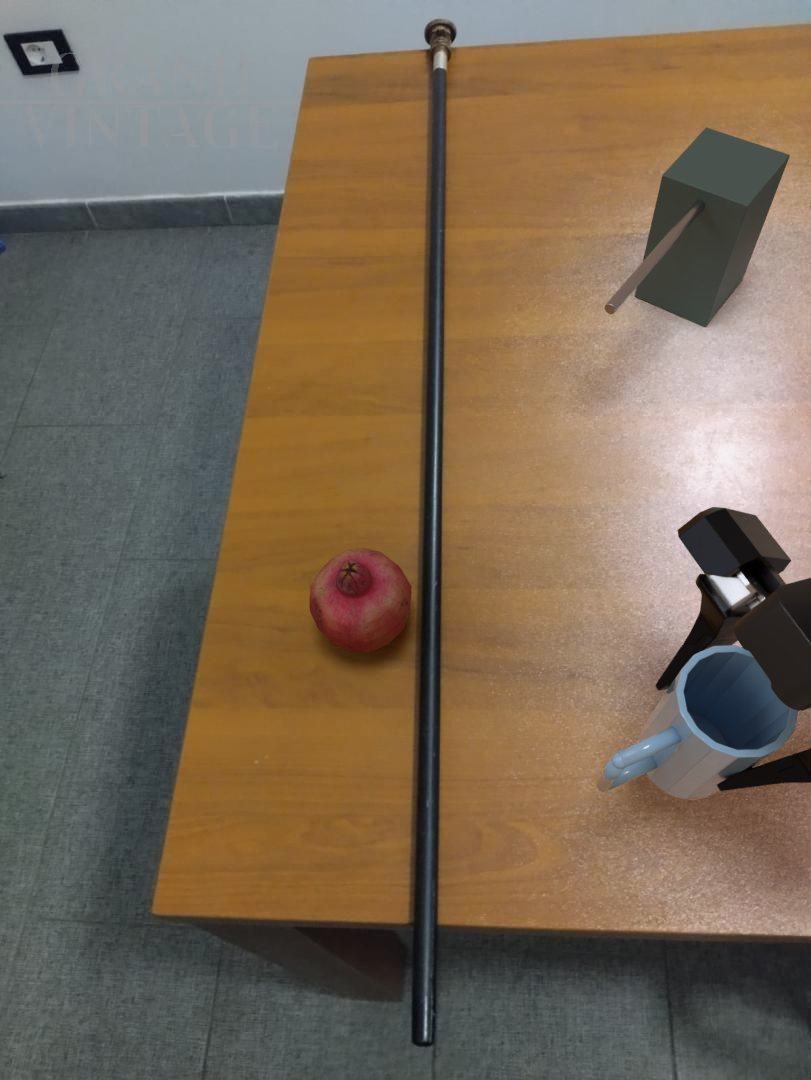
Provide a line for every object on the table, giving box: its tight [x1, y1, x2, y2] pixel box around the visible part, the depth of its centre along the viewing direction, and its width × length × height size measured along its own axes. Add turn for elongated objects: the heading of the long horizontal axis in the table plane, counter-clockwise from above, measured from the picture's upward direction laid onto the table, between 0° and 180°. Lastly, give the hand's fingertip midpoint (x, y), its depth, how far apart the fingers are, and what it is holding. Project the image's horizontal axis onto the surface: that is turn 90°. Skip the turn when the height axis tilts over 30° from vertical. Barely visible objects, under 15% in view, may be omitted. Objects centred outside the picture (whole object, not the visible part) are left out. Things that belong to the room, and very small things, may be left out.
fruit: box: [308, 547, 413, 653], centre depth 59 cm, size 8×8×10 cm
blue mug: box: [595, 644, 799, 801], centre depth 44 cm, size 10×6×12 cm, turn 113°
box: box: [604, 127, 791, 328], centre depth 69 cm, size 8×23×14 cm, turn 142°
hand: (689, 735), depth 44 cm, fingers closed on blue mug, 6 cm apart
